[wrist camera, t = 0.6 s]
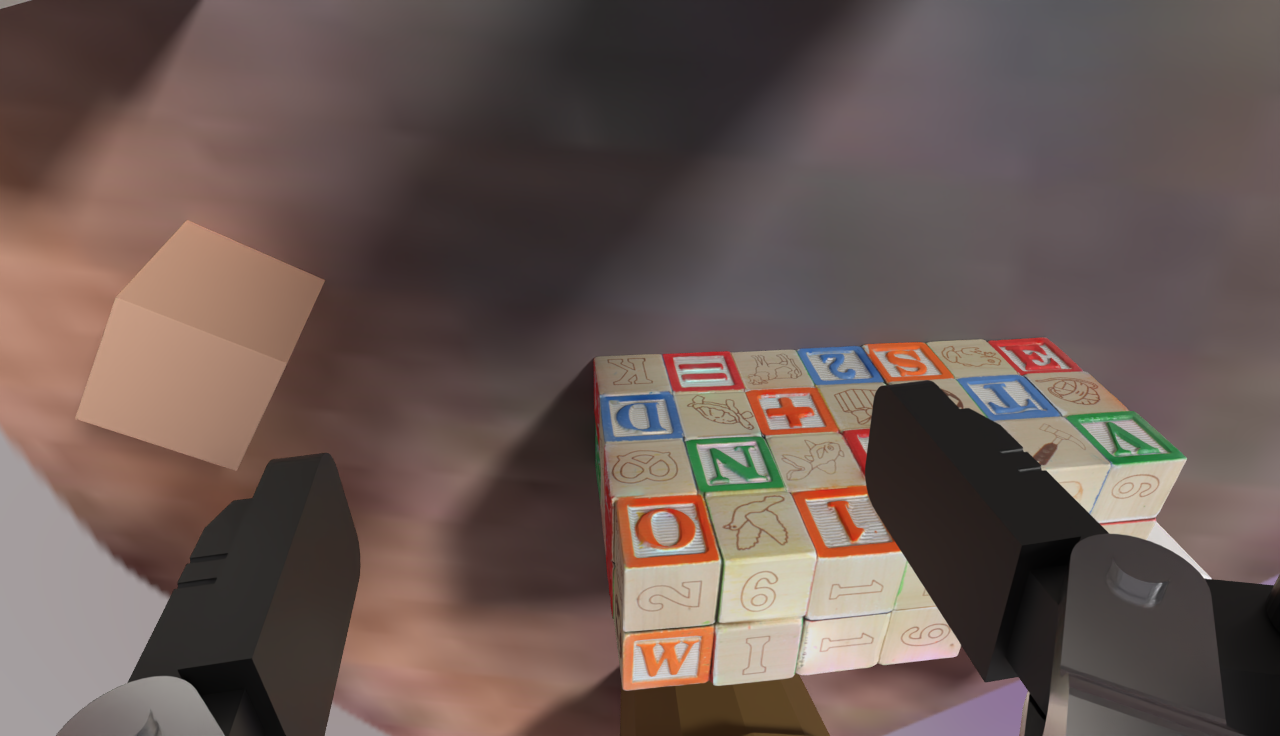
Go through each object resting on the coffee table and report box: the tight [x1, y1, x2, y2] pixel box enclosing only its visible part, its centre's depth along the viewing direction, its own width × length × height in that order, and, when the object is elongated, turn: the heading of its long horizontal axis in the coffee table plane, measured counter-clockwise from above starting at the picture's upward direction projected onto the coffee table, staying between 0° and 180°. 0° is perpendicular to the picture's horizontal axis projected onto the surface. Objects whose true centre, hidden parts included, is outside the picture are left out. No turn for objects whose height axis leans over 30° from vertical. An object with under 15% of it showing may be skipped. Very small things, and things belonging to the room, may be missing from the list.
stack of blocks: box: [594, 337, 1187, 691], centre depth 31 cm, size 21×6×12 cm, turn 89°
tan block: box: [75, 220, 325, 471], centre depth 27 cm, size 5×5×6 cm
